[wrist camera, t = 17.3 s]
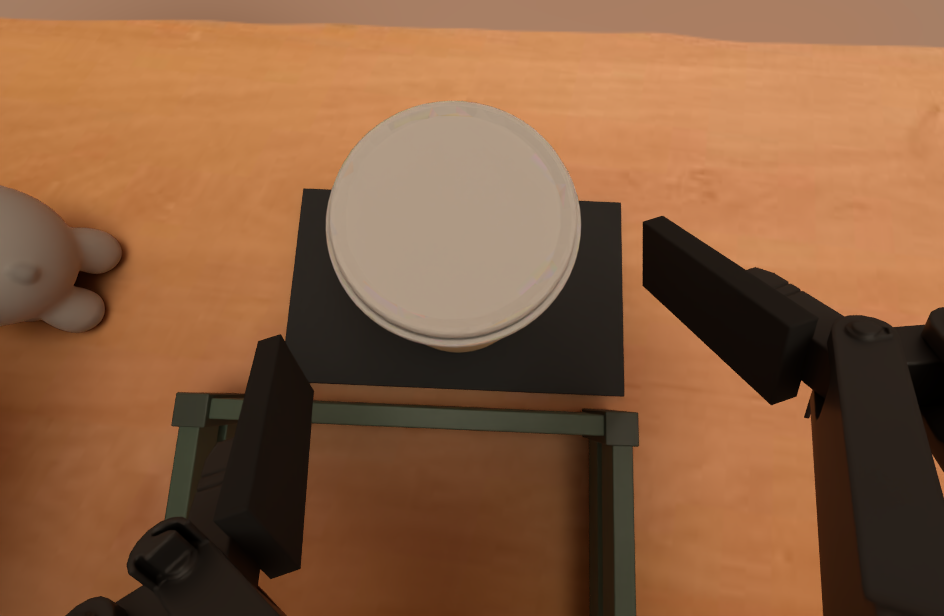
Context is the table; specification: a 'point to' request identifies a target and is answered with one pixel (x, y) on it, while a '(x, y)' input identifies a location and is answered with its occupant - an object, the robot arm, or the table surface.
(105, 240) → the round bodied animal figurine
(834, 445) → the robot arm
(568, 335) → the mat
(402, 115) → the coffee cup
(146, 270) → the table surface
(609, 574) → the frame
